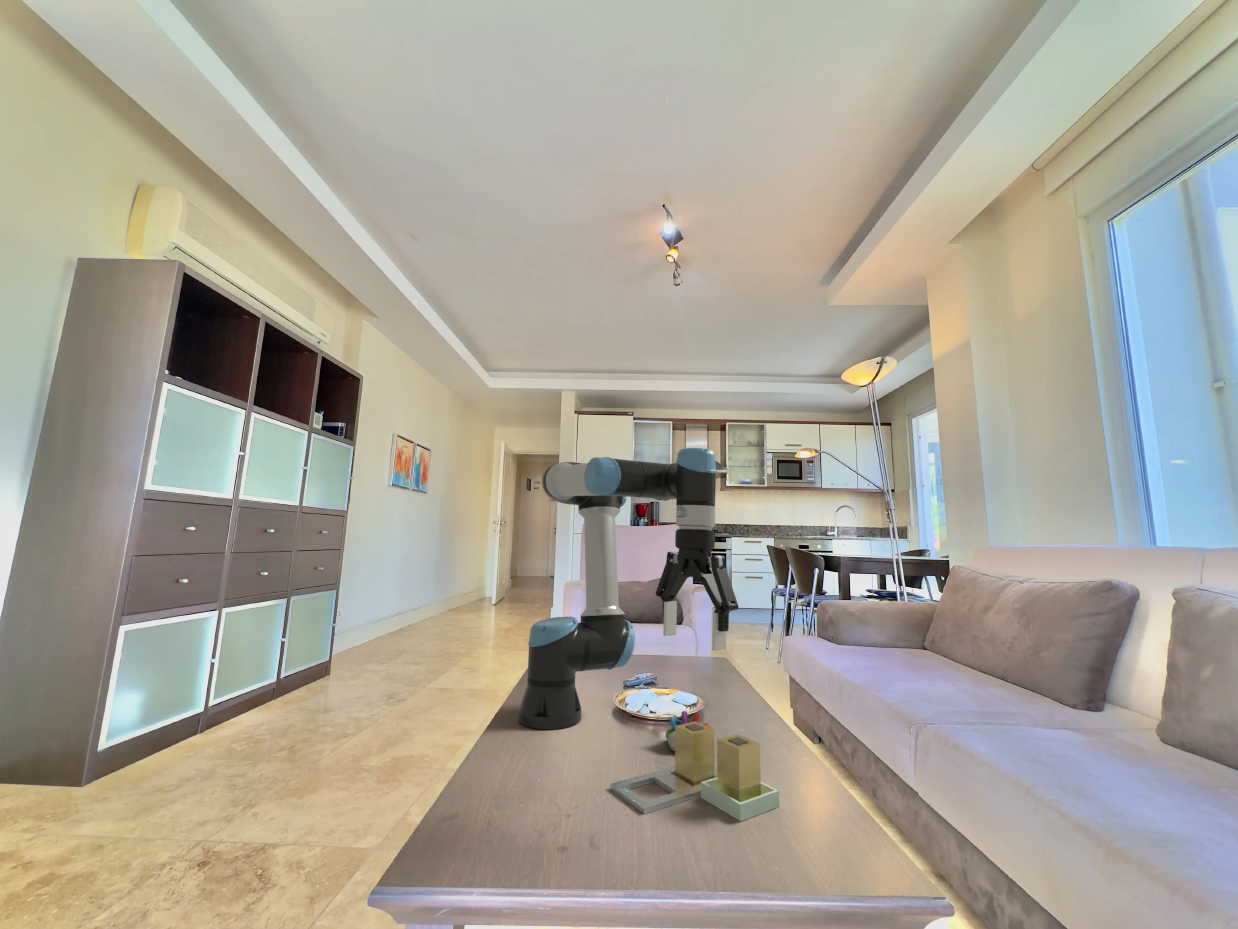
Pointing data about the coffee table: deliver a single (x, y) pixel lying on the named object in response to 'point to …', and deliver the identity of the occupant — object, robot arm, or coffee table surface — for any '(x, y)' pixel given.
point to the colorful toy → (674, 722)
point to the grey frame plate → (662, 778)
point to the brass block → (738, 767)
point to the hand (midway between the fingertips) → (693, 642)
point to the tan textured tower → (694, 753)
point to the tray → (740, 809)
